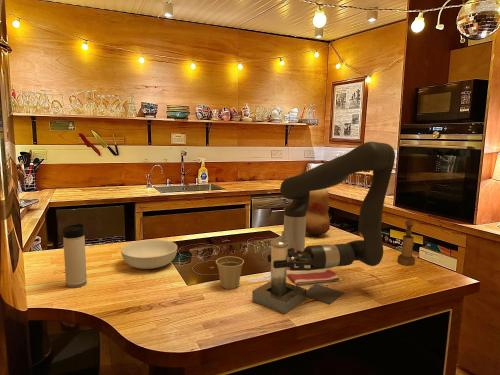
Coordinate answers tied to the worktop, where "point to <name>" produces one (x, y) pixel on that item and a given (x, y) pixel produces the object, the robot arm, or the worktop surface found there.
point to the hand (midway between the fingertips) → (270, 261)
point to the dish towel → (312, 277)
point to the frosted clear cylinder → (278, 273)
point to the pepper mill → (407, 246)
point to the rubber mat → (323, 293)
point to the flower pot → (229, 271)
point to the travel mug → (74, 255)
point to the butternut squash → (318, 213)
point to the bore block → (279, 297)
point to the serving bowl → (149, 253)
